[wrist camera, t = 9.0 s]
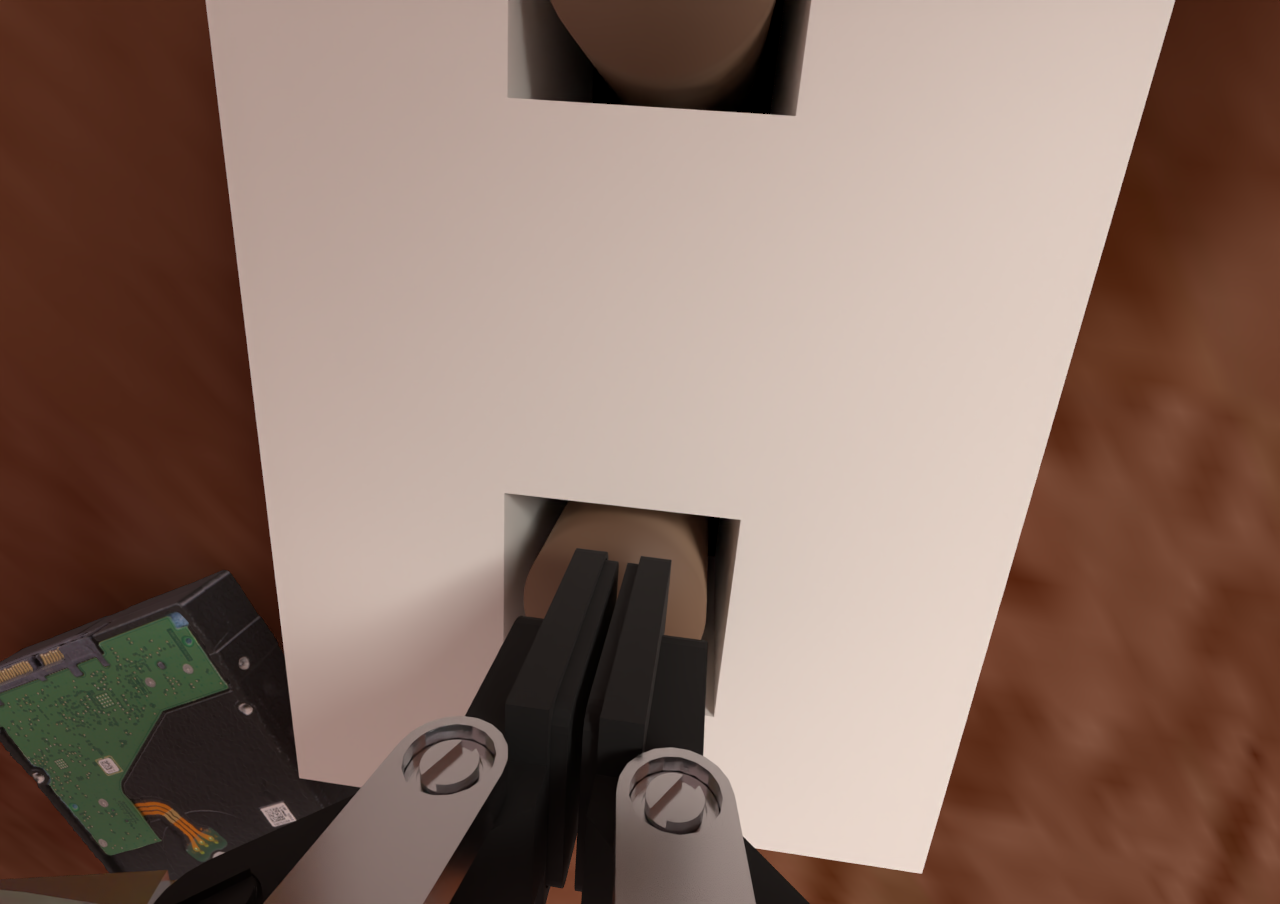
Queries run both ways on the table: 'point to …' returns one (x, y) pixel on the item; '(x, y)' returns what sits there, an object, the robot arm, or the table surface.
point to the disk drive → (162, 729)
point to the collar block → (671, 357)
